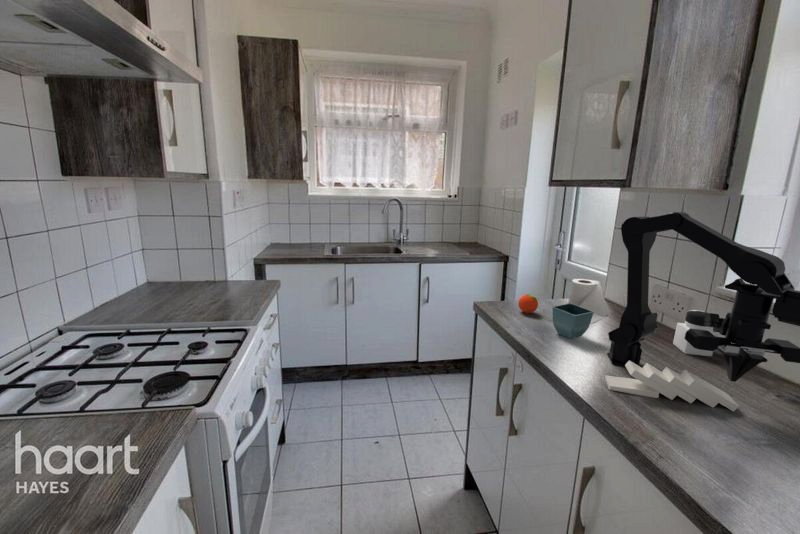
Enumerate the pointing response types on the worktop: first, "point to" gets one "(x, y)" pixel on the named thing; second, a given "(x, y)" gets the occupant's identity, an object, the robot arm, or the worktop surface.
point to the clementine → (528, 303)
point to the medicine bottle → (694, 322)
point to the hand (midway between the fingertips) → (731, 380)
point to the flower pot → (571, 320)
